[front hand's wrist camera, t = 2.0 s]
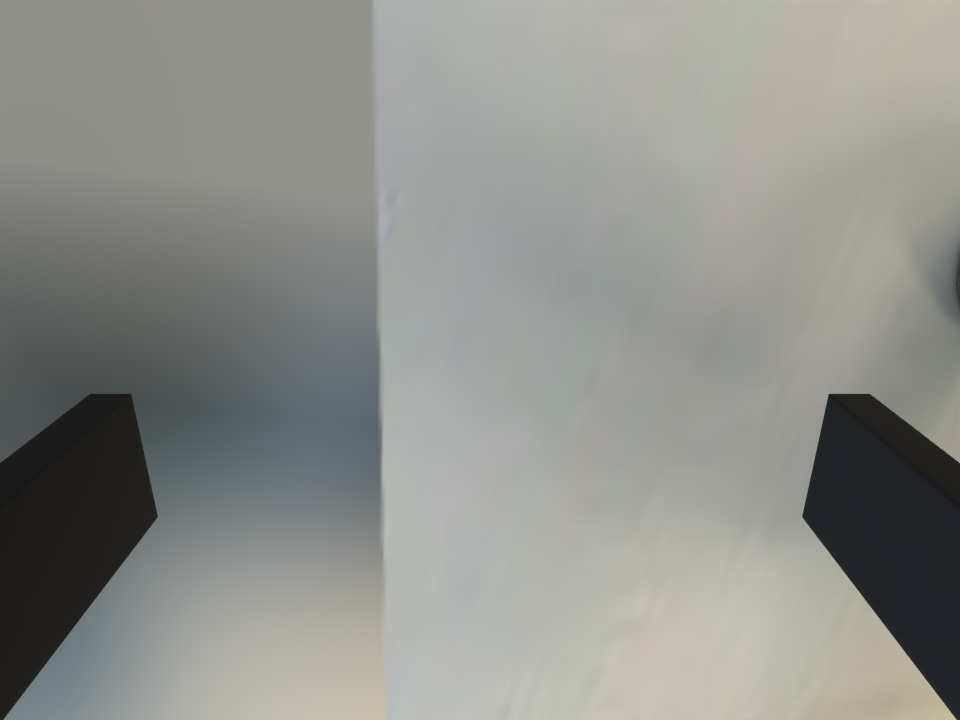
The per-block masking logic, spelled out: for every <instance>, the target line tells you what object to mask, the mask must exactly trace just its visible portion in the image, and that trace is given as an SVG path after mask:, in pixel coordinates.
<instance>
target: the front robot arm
mask: <svg viewBox="0 0 960 720" xmlns="http://www.w3.org/2000/svg"><path fill="white" fill-rule="evenodd" d="M957 295H958V302H959V307H960V261H959V266H958V274H957ZM157 517H158V516H157V511H156V507H155V502H154V498H153V493H152V488H151V484H150V479H149V474H148V470H147V465H146V461H145V456H144V451H143V447H142V442H141V437H140V433H139V428H138V424H137V419H136V415H135V410H134V405H133V401H132V396H131V394H90V395H88V396H87V397H86V398H84V399H83V400H82V401H81V402H79V403H78V404H77V405H75V406H74V407H73V408H71V409H70V410H69V411H68V412H66V413H65V414H64V415H62V416H61V417H60V418H58V419H57V420H56V421H55V422H53V423H52V424H51V425H49V426H48V427H47V428H45V429H44V430H43V431H42V432H40V433H39V434H38V435H36V436H35V437H34V438H32V439H31V440H30V441H29V442H27V443H26V444H25V445H23V446H22V447H21V448H19V449H18V450H17V451H16V452H14V453H13V454H12V455H10V456H9V457H8V458H6V459H5V460H4V461H3V462H1V463H0V720H3V719H4V718H5V717H6V715H7V714H8V713H9V711H10V710H11V709H12V707H13V706H14V705H15V703H16V702H17V701H18V700H19V698H20V697H21V696H22V694H23V693H24V692H25V690H26V689H27V688H28V686H29V685H30V684H31V683H32V681H33V680H34V679H35V677H36V676H37V675H38V673H39V672H40V671H41V669H42V668H43V667H44V665H45V664H46V663H47V661H48V660H49V659H50V658H51V656H52V655H53V654H54V652H55V651H56V650H57V648H58V647H59V646H60V644H61V643H62V642H63V641H64V639H65V638H66V637H67V635H68V634H69V633H70V631H71V630H72V629H73V627H74V626H75V625H76V624H77V622H78V621H79V620H80V618H81V617H82V616H83V614H84V613H85V612H86V610H87V609H88V608H89V606H90V605H91V604H92V603H93V601H94V600H95V599H96V597H97V596H98V595H99V593H100V592H101V591H102V589H103V588H104V587H105V585H106V584H107V583H108V581H109V580H110V579H111V578H112V576H113V575H114V574H115V572H116V571H117V570H118V568H119V567H120V566H121V564H122V563H123V562H124V561H125V559H126V558H127V557H128V555H129V554H130V553H131V551H132V550H133V549H134V547H135V546H136V545H137V543H138V542H139V541H140V540H141V538H142V537H143V536H144V534H145V533H146V532H147V530H148V529H149V528H150V526H151V525H152V524H153V522H154V521H155V520H156V519H157ZM802 517H803V519H804V520H805V521H806V523H807V524H808V525H809V526H810V528H811V529H812V530H813V532H814V533H815V534H816V536H817V537H818V538H819V540H820V541H821V542H822V544H823V545H824V546H825V547H826V549H827V550H828V551H829V553H830V554H831V555H832V557H833V558H834V559H835V561H836V562H837V563H838V565H839V566H840V567H841V568H842V570H843V571H844V572H845V574H846V575H847V576H848V578H849V579H850V580H851V582H852V583H853V584H854V585H855V587H856V588H857V589H858V591H859V592H860V593H861V595H862V596H863V597H864V599H865V600H866V601H867V603H868V604H869V605H870V606H871V608H872V609H873V610H874V612H875V613H876V614H877V616H878V617H879V618H880V620H881V621H882V622H883V624H884V625H885V626H886V627H887V629H888V630H889V631H890V633H891V634H892V635H893V637H894V638H895V639H896V641H897V642H898V643H899V645H900V646H901V647H902V648H903V650H904V651H905V652H906V654H907V655H908V656H909V658H910V659H911V660H912V662H913V663H914V664H915V665H916V667H917V668H918V669H919V671H920V672H921V673H922V675H923V676H924V677H925V679H926V680H927V681H928V683H929V684H930V685H931V686H932V688H933V689H934V690H935V692H936V693H937V694H938V696H939V697H940V698H941V700H942V701H943V702H944V704H945V705H946V706H947V707H948V709H949V710H950V711H951V713H952V714H953V715H954V717H955V718H956V719H957V720H960V463H959V462H957V461H956V460H955V459H954V458H952V457H951V456H950V455H948V454H947V453H946V452H944V451H943V450H942V449H941V448H939V447H938V446H937V445H935V444H934V443H933V442H931V441H930V440H929V439H928V438H926V437H925V436H924V435H922V434H921V433H920V432H918V431H917V430H916V429H915V428H913V427H912V426H911V425H909V424H908V423H907V422H905V421H904V420H903V419H902V418H900V417H899V416H898V415H896V414H895V413H894V412H892V411H891V410H890V409H889V408H887V407H886V406H885V405H883V404H882V403H881V402H879V401H878V400H877V399H876V398H874V397H873V396H872V395H870V394H829V396H828V401H827V405H826V410H825V414H824V419H823V424H822V428H821V433H820V437H819V442H818V447H817V451H816V456H815V461H814V465H813V470H812V474H811V479H810V484H809V488H808V493H807V497H806V502H805V507H804V511H803V516H802Z"/></svg>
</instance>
